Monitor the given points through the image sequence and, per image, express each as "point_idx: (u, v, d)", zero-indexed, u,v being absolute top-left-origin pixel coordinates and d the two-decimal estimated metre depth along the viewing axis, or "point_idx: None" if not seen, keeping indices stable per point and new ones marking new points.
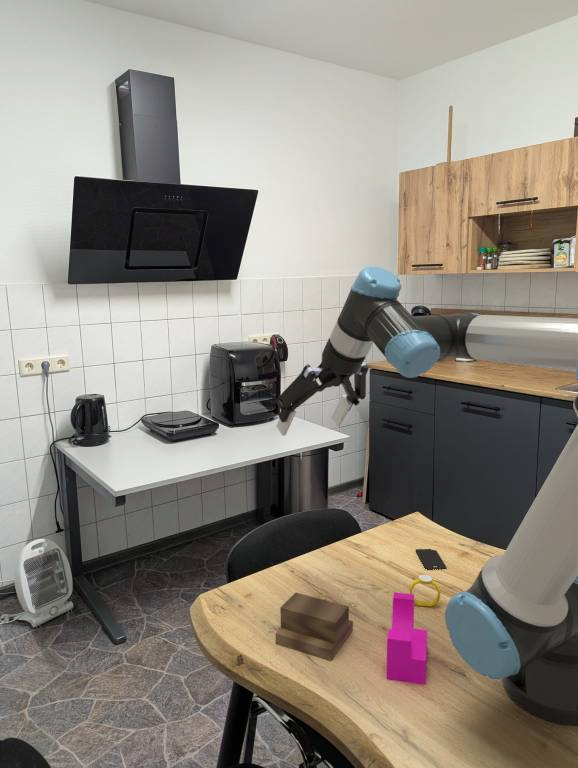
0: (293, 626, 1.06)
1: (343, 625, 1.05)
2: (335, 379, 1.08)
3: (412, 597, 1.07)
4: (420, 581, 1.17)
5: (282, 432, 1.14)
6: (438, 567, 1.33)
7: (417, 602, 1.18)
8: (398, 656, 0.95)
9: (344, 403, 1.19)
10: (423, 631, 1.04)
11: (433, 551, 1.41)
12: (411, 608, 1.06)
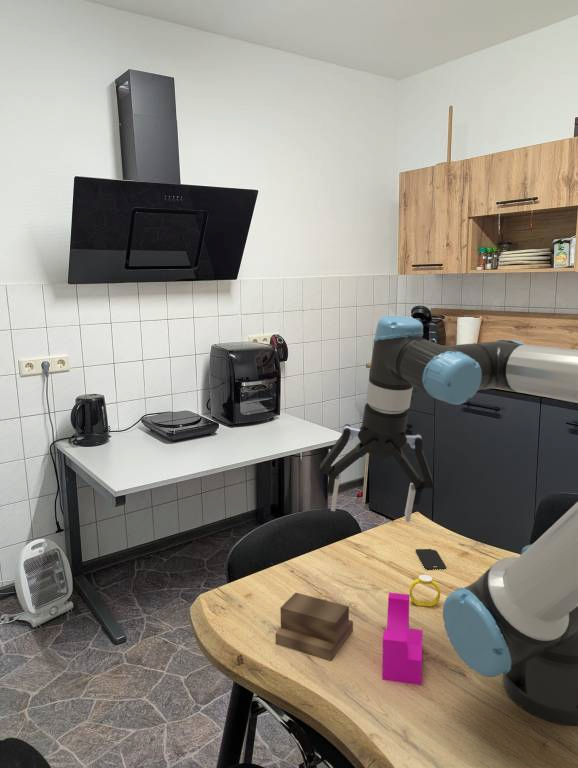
0: (293, 626, 1.06)
1: (343, 625, 1.05)
2: (375, 442, 1.01)
3: (407, 597, 1.07)
4: (420, 581, 1.17)
5: (331, 507, 1.07)
6: (438, 567, 1.33)
7: (417, 602, 1.18)
8: (394, 657, 0.95)
9: (410, 491, 1.05)
10: (418, 632, 1.04)
11: (433, 551, 1.41)
12: (407, 608, 1.06)
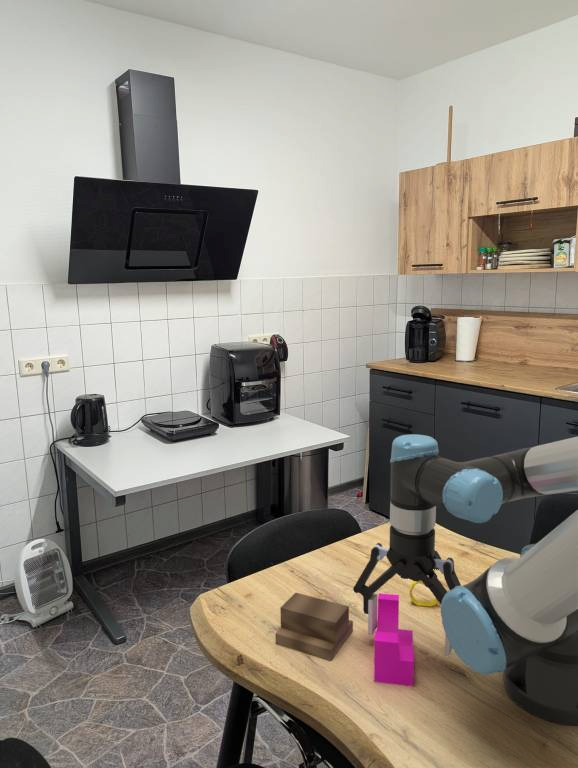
0: (293, 626, 1.06)
1: (343, 625, 1.05)
2: (401, 564, 0.99)
3: (397, 598, 1.07)
4: (420, 581, 1.17)
5: None
6: None
7: (417, 602, 1.18)
8: (386, 658, 0.94)
9: None
10: (408, 632, 1.04)
11: None
12: (396, 609, 1.06)
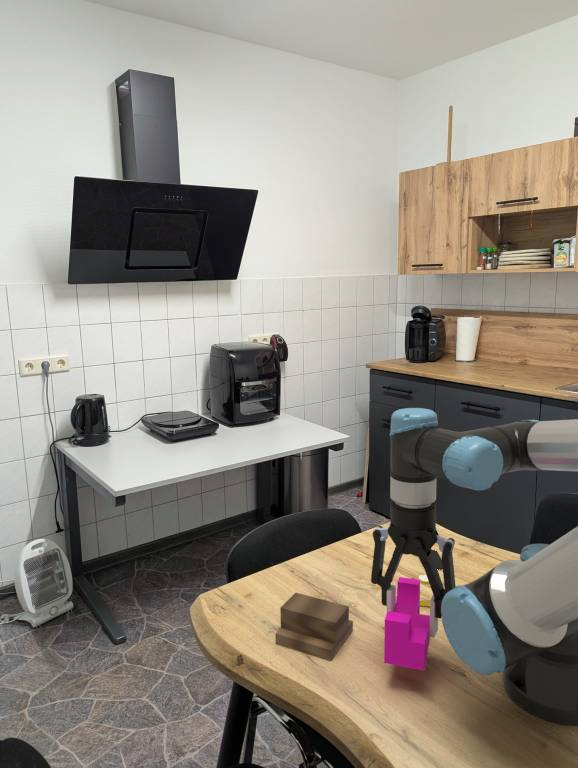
0: (293, 626, 1.06)
1: (343, 625, 1.05)
2: (402, 539, 0.98)
3: (417, 582, 1.04)
4: (420, 581, 1.17)
5: None
6: (438, 567, 1.33)
7: None
8: (396, 638, 0.92)
9: None
10: (427, 617, 1.01)
11: (433, 551, 1.41)
12: (416, 593, 1.03)
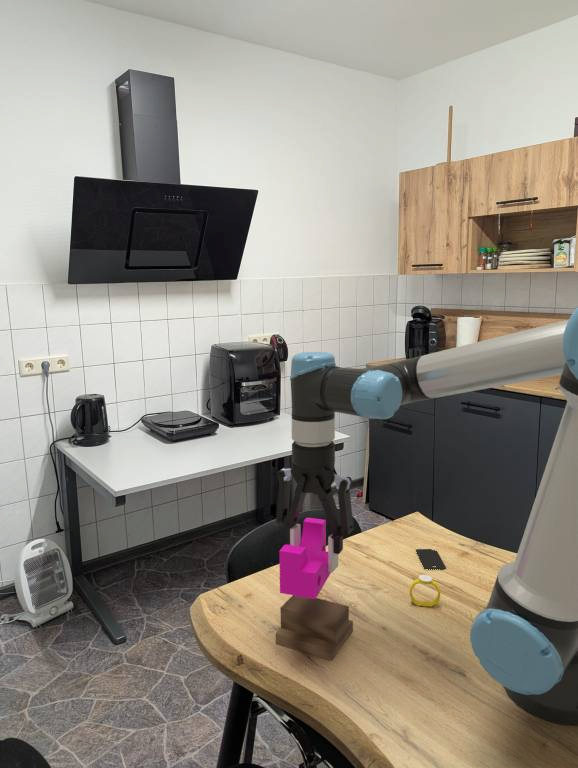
0: (293, 626, 1.06)
1: (343, 625, 1.05)
2: (302, 477, 1.02)
3: (322, 522, 1.08)
4: (420, 581, 1.17)
5: None
6: (437, 567, 1.33)
7: (417, 602, 1.18)
8: (290, 569, 0.97)
9: None
10: None
11: (433, 551, 1.41)
12: (320, 532, 1.08)
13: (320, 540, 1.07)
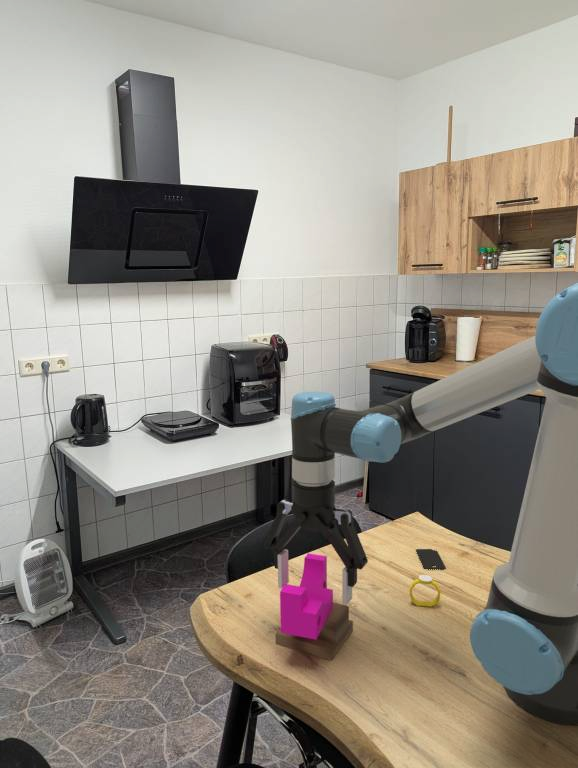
0: None
1: (343, 625, 1.05)
2: (302, 516, 1.03)
3: (323, 558, 1.10)
4: (420, 581, 1.17)
5: None
6: (437, 567, 1.33)
7: (417, 602, 1.18)
8: (290, 609, 0.98)
9: None
10: (328, 591, 1.06)
11: (433, 551, 1.41)
12: (321, 568, 1.09)
13: (321, 577, 1.08)
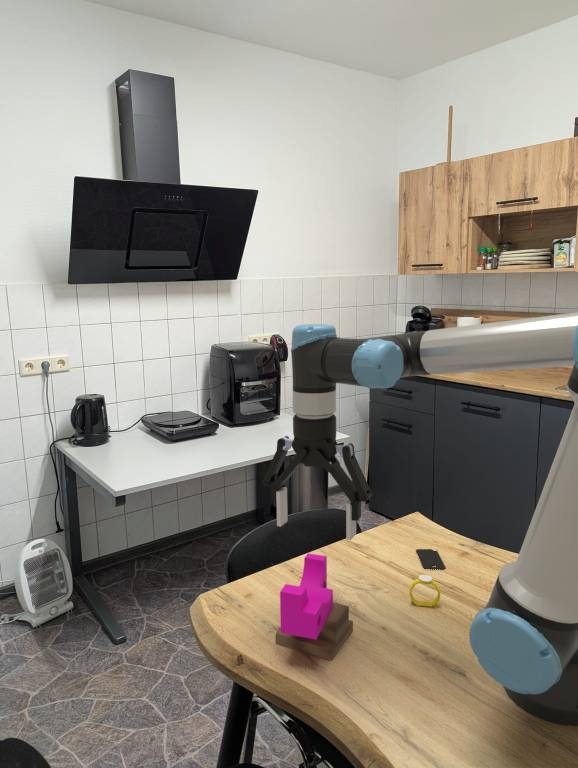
0: None
1: (343, 625, 1.05)
2: (303, 451, 1.01)
3: (323, 558, 1.10)
4: (420, 581, 1.17)
5: None
6: (437, 567, 1.33)
7: (417, 602, 1.18)
8: (290, 609, 0.98)
9: None
10: (328, 591, 1.06)
11: (434, 551, 1.41)
12: (321, 568, 1.09)
13: (321, 577, 1.08)
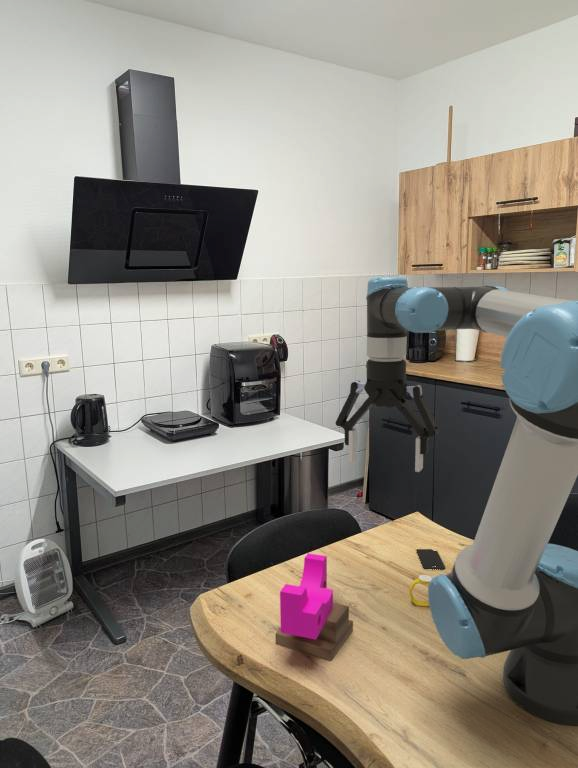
0: None
1: (343, 625, 1.05)
2: (376, 392, 1.12)
3: (323, 558, 1.10)
4: (420, 581, 1.17)
5: None
6: (437, 567, 1.33)
7: (417, 602, 1.18)
8: (290, 609, 0.98)
9: None
10: (328, 591, 1.06)
11: (434, 551, 1.41)
12: (321, 568, 1.09)
13: (321, 577, 1.08)
